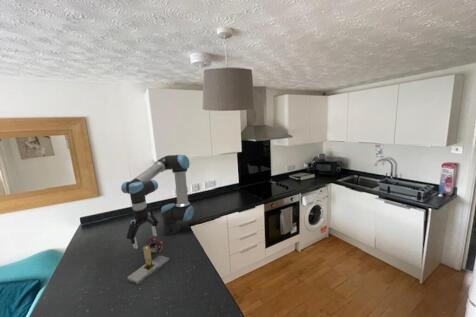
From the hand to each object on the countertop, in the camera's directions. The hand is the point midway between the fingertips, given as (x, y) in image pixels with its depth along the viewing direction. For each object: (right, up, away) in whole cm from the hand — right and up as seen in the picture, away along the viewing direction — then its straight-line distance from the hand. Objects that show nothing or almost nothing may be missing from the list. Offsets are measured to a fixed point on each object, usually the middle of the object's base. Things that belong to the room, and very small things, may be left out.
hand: (145, 241), depth 120 cm
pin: (+2, -18, +2) cm, 18 cm away
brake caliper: (-4, -16, +23) cm, 28 cm away
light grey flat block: (-1, -19, -2) cm, 19 cm away
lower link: (+3, -17, +6) cm, 19 cm away
